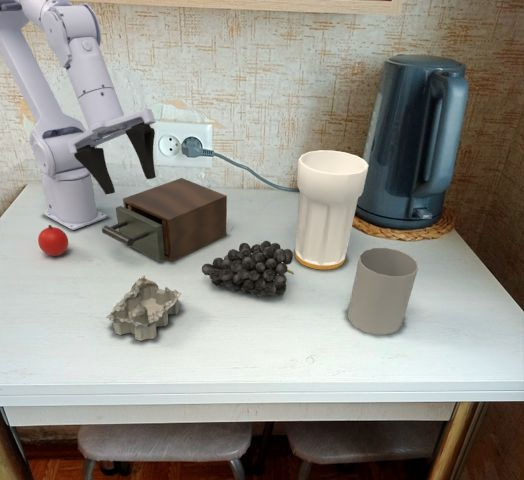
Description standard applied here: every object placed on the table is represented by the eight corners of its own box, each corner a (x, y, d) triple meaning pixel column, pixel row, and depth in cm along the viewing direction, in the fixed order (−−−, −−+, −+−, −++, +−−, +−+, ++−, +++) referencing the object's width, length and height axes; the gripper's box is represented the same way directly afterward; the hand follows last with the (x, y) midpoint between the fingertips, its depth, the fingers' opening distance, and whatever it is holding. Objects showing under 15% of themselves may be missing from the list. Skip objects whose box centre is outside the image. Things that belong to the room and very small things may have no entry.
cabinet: (171, 262, 89) (169, 219, 83) (127, 240, 94) (122, 198, 89) (226, 235, 97) (227, 195, 92) (183, 216, 103) (181, 177, 98)
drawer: (138, 272, 84) (134, 236, 80) (98, 250, 89) (92, 215, 85) (213, 236, 95) (212, 203, 91) (173, 218, 100) (172, 186, 96)
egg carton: (146, 295, 80) (144, 272, 78) (187, 308, 78) (186, 285, 76) (103, 331, 73) (99, 307, 70) (148, 346, 71) (145, 323, 68)
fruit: (196, 238, 77) (295, 248, 75) (209, 231, 84) (299, 240, 83) (194, 294, 80) (289, 305, 78) (207, 282, 87) (294, 292, 86)
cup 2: (389, 341, 75) (405, 283, 68) (339, 321, 78) (349, 264, 71) (409, 314, 80) (425, 258, 74) (361, 297, 83) (373, 242, 77)
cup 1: (335, 240, 99) (350, 148, 88) (361, 269, 90) (381, 172, 79) (280, 245, 96) (288, 151, 85) (302, 276, 87) (314, 176, 76)
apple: (35, 253, 88) (28, 224, 85) (60, 244, 91) (53, 216, 88) (52, 263, 86) (45, 234, 83) (76, 253, 89) (70, 225, 86)
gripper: (41, 110, 75) (79, 202, 79) (124, 73, 70) (159, 172, 74) (69, 114, 81) (102, 198, 85) (146, 79, 77) (178, 170, 81)
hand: (130, 186), depth 80 cm, fingers open, 7 cm apart
